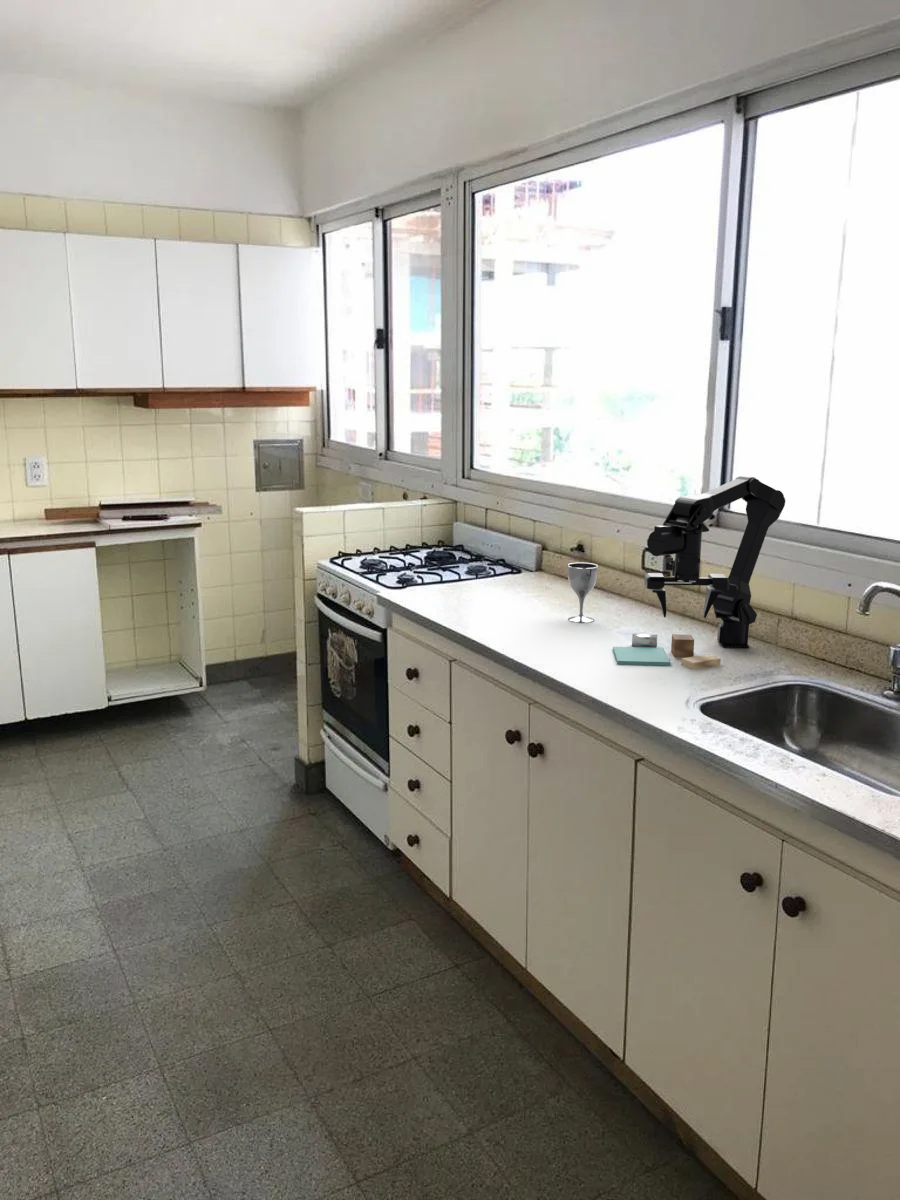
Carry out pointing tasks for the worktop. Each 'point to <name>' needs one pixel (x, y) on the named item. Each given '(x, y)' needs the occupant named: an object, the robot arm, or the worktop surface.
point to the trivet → (641, 656)
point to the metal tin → (644, 639)
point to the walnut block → (682, 646)
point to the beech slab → (701, 661)
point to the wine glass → (582, 585)
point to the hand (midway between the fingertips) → (684, 617)
